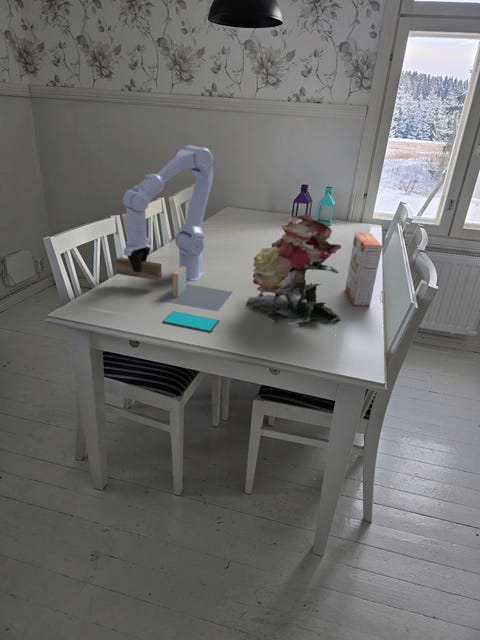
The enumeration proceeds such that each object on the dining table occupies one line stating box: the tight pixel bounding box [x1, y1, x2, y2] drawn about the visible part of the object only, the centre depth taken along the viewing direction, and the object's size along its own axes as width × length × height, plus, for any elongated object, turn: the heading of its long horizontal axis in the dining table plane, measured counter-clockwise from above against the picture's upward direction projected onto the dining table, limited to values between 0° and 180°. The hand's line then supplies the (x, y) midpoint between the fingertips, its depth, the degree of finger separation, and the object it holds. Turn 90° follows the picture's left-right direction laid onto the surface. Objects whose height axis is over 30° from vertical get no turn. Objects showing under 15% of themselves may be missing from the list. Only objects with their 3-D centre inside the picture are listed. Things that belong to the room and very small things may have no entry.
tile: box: [172, 266, 187, 297], centre depth 137 cm, size 7×2×8 cm, turn 164°
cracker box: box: [344, 232, 383, 307], centre depth 141 cm, size 14×6×21 cm, turn 178°
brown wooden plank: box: [115, 256, 163, 281], centre depth 140 cm, size 2×15×5 cm, turn 74°
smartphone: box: [162, 311, 221, 333], centre depth 122 cm, size 7×1×15 cm
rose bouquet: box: [245, 213, 357, 328], centre depth 127 cm, size 26×29×30 cm
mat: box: [157, 283, 234, 312], centre depth 138 cm, size 16×20×1 cm
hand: (139, 270), depth 140 cm, fingers closed on brown wooden plank, 2 cm apart
